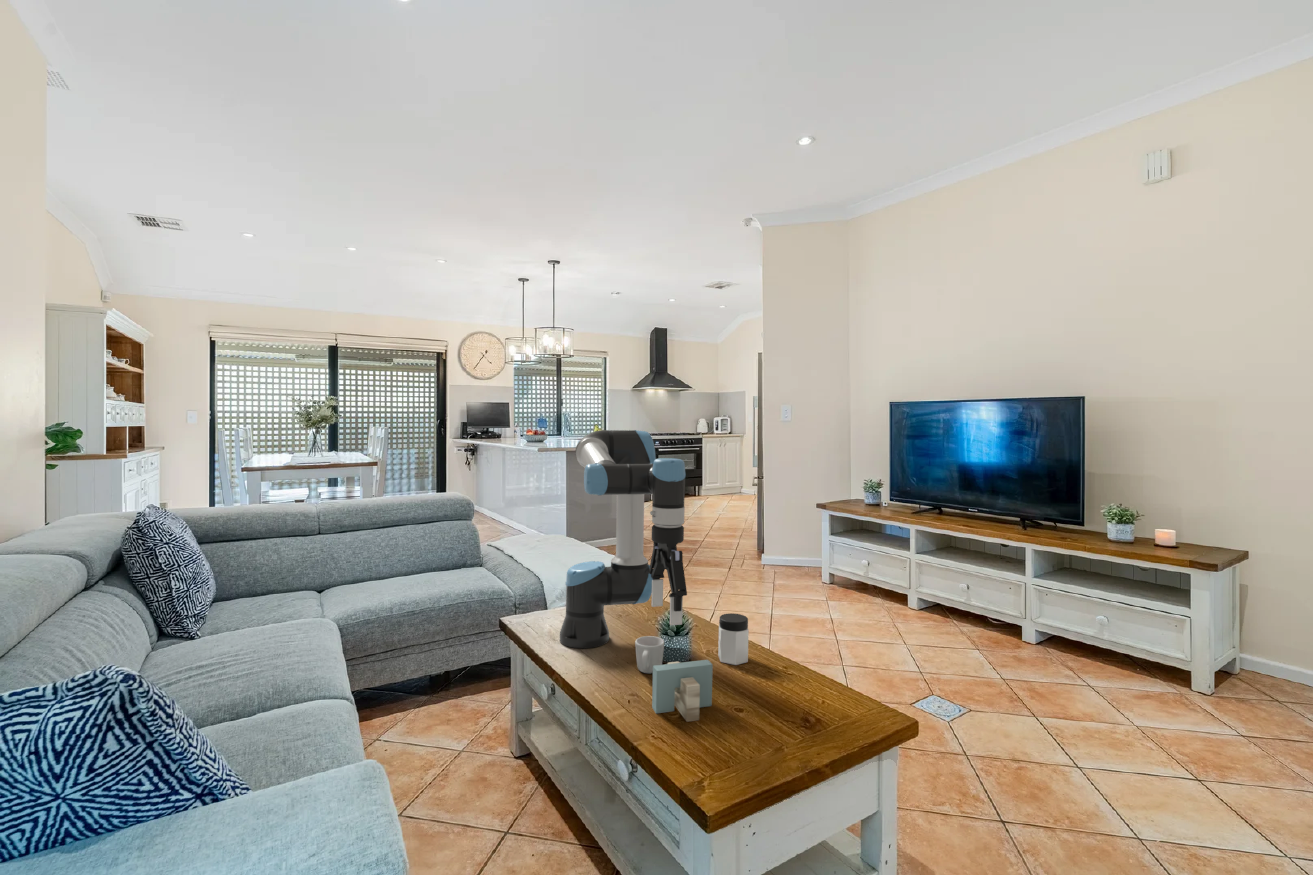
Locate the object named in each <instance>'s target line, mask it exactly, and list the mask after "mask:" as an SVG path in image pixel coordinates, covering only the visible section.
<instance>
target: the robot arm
mask: <svg viewBox="0 0 1313 875" xmlns="http://www.w3.org/2000/svg"><path fill="white" fill-rule="evenodd" d="M574 450H575V454H574V455H575V458H576V460H577V462H578V464H579V465H580V466H581V467H583V468H584V471H583V487H584V492H585V493H586V494H587V495H596V496H605V495H606V496H607V495H608V496H610V495H611V496H612V495H613V496H614V495H616V528H615V530H616V531H615V539H616V541H615V542H616V543H615V554H614V557H613V558H611V559H610V566H606V565H605V563H604V562H602V561H595V560H594V561H593V560H591V561H585V562H580V563H576V564H574V565H572V566H570V568H568V569H567V572H566V580H565V586H566V590H565V593H566V594H565V596H566V597H565V616H564V619H563V622H562V625H561V629H560V631H559V642H560V643H561V645H563V646H565V647H568V648H573V649H591V648H598V647H600V646H603V645H606V644H607V643H608V642H609V640H610V631H609V630H610V629H609V627H608V624H607V622H606V621H607V620H606V618H605V613H604V612H605V611H604V610H605V606H617V605H633V606H634V605H637V604H645V603H647V602H648V601H649V600H650V598H651V604H650V605H651V608H652V607H653V608H654V607H656V608H657V607H663V606H664V605H663V604H664V578H665V575H664V574H665V570H666V574H667V577H668V581H669V588H670V591H671V592H670V593H669V595H668V597H669V625H670V626H677V625H679V626H680V625H683V600H684V599H683V598H684V597H685V596H687V595H688V590H687V583H686V582H687V581H686V577H685V576H686V575H685V568H684V562H683V557H684V556H683V551H682V550H678V547H677V545H678V544H682V543H683V542H684V539H685V538H684V536H685V533H684V532H685V531H684V530H685V527H684V524H685V510H686V509H685V496H686V495H685V494H686V493H685V492H686V491H685V486H686V474H687V473H686V464H685V461H684V460H683V459H680V458H671V457H669V458H668V457H662V458H657V457H656V448H655V444H654V439H653V437H652V435H651V434H650V433H649V432H648V431H645V430H637V429H634V430H630V429H629V430H626V429H624V430H623V429H622V430H619V429H617V430H615V429H614V430H610V429H608V430H607V429H602V430H600V429H599V430H595V431H592V432H590V433H588V434H586V435H585V436H583V437H582V438H580V440H579V441H578V443H577V444H576V446H575V449H574ZM645 495H652V504H651V505H652V508H651V509H652V510H650V511H649V514H650V516H651V517H652V518H651V522H652V523H653V525H652V526H651V540H652V543H653V547H652V548H653V549H652V552H651V553H652V554H651V559H650V563H649V560H648V558H647V557H645V554H644V535H645V534H644V533H645V532H644V529H645Z"/></svg>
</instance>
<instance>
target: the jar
mask: <svg viewBox="0 0 1313 875" xmlns="http://www.w3.org/2000/svg"><path fill="white" fill-rule="evenodd" d="M718 623H719V624H718V649H717V651H718V652H717V653H718V654H717V657H718V659H719V661H720V662H721V663H724V664H728V665H733V666H739V665H741V664H742V665H743V664H745V663H748V662H749V618H748V617H747V616H746V615H744V614H740V613H724V614H722V615H720V616H719V622H718Z"/></svg>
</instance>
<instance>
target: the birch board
mask: <svg viewBox="0 0 1313 875" xmlns="http://www.w3.org/2000/svg"><path fill="white" fill-rule="evenodd" d="M674 663H681V662H680V661H671V662H667V663H666V664H674ZM699 703H700V685H699V684H698V683H697V681H696V680H695V679H694V678H693V677H690V678H681V685H680V687H677V688H675V701H674V707H675V708H676V709H677V711H678V712H679V713H680V715H681V716H682V718H683V719H684V720H685V722H689V723H690V722H694V721H695V722H696V721H700V708H699Z"/></svg>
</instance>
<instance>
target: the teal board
mask: <svg viewBox="0 0 1313 875" xmlns="http://www.w3.org/2000/svg"><path fill="white" fill-rule="evenodd" d="M713 669H714V668H713V663H712V662H711V661H710V660H709V659H701V660H693V661H685V662H684V661H683V662H680V663H674V664H667V663H666V664H662V665H656V666H653V673H652V694H651V695H652V697H651V698H652V699H651V700H652V701H651V708H652V710H653V711H654V713H655V714H661V713H669V712H675V705H674V701H675V688H677V687H680V685H681V678H690V677H693V678H694V679H695V680H696V681H697V683H698V684H699V685H700V703H699V709H700V708H704V707H705V708H707V707H712V706H713V705H712V704H713V671H714V670H713Z"/></svg>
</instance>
